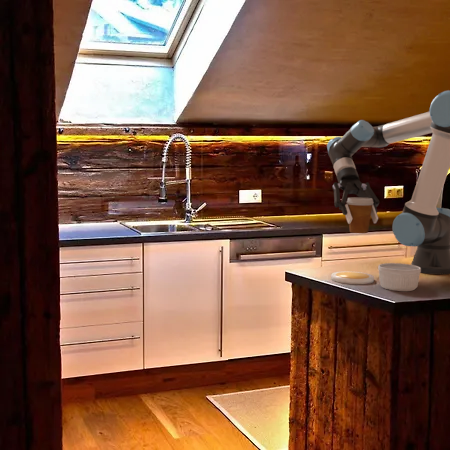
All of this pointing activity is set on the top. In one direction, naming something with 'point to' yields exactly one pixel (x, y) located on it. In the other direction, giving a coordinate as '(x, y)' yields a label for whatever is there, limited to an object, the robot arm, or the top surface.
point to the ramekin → (399, 276)
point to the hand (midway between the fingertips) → (363, 221)
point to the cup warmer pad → (352, 277)
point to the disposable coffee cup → (360, 213)
